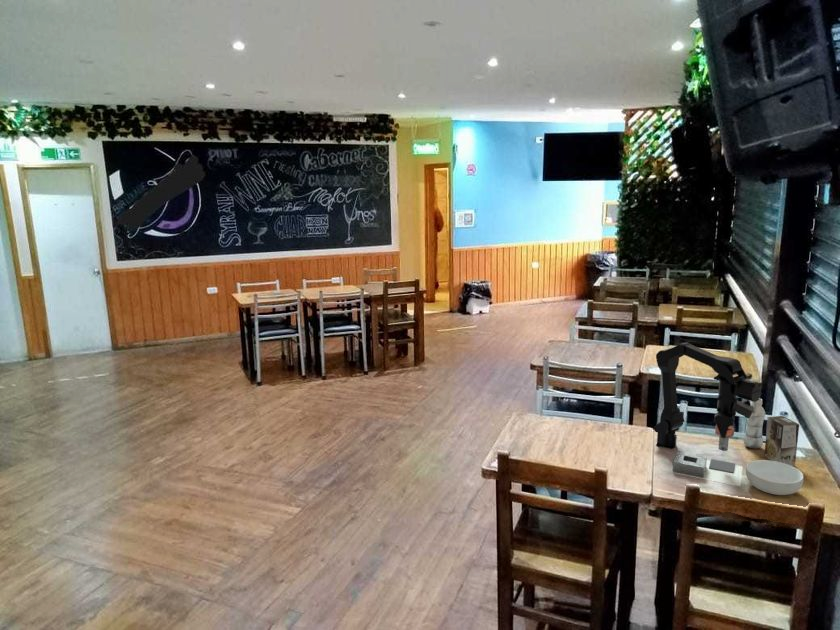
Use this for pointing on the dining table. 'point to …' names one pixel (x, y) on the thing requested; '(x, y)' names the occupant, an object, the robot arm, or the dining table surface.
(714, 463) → the pad
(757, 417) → the plastic bottle
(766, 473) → the cereal bowl
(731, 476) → the board
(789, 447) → the coffee box
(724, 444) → the copper disc with stripe
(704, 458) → the metal block
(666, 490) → the dining table surface
